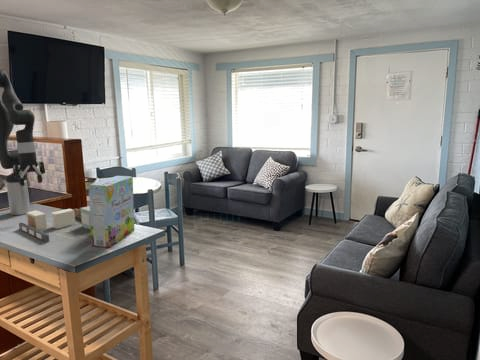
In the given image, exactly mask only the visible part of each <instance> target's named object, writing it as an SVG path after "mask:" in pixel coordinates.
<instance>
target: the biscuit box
mask: <svg viewBox="0 0 480 360" xmlns="http://www.w3.org/2000/svg"><path fill="white" fill-rule="evenodd" d="M50 218H51V226H52V228H54V229H56V230H57V229H61V228H65V227H70V226H73V225H76V217H75V212H74V209H72V208H67V209H62V210H56V211H53V212H50ZM69 225H70V226H69Z"/></svg>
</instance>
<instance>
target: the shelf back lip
mask: <svg viewBox="0 0 480 360" xmlns="http://www.w3.org/2000/svg"><path fill="white" fill-rule="evenodd" d="M73 210H74V212H75V218H78V219H81V210H80V208H73Z"/></svg>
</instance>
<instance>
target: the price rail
mask: <svg viewBox="0 0 480 360" xmlns="http://www.w3.org/2000/svg"><path fill="white" fill-rule="evenodd" d="M18 229H19V230H20V231H21V232H23V233H26V234H28V235H31V236H32V237H34V238H37V239H38V240H40V241H43V242H45V243H49V242H50V238H49V237H50V235H49V234H48V233H46V232H43V231H41V230H37V229H35V228H32V227H30V226H28V224H26V223H24V222H19V223H18Z"/></svg>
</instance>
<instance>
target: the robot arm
mask: <svg viewBox="0 0 480 360" xmlns="http://www.w3.org/2000/svg"><path fill="white" fill-rule="evenodd" d="M0 88H2V89H4V90H3V92H2V94H1V99H0V165H1V168H2V169H4V170H12V173H10V174H7V176H6V177H5V182H6V189H7V199H8V206H9V214H10V215H12V216H19V215H27V212H31V205H30V196H29V195H30V194H29V187H28V186H29V185H28V178H27V176H28V173H33V172H34V173H35V174H36V179H37V183H38V184H41V183H43V174H46V169H45V163H44V161H38V160H37V158H38V157H37V153H36V152H37V151H36V146H35V145H36V144H35V142H34V141H35V140H34V133H33V132H34V125H35V119H36V118H35V117H36V116H35V114H34V112H33V111H31V110H29V109H24V105H23V103H22V102H21V100H20V99H19V98H18V96H17V94H16V92H15V89H14V87H13V85H12V83H11V79H10V78H9V75H8V74H7V72H6V71H5V70H4V69H0ZM22 125H24V128H23V129H19V130H16V131H15V138H16V139H15V140H16V144H17V145H16V148H17V149H14V150H13V149H11V150H8V141H9V137H10V135H11V133H12V131H13V130H14V126H22ZM38 167H39V168H38Z"/></svg>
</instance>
